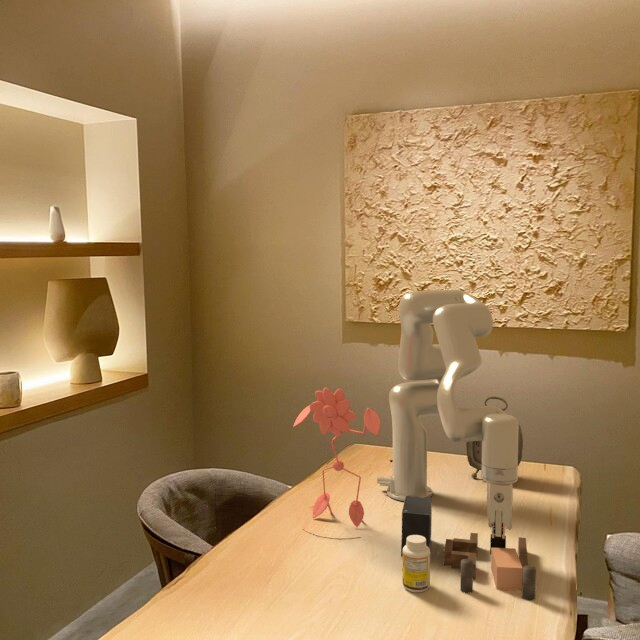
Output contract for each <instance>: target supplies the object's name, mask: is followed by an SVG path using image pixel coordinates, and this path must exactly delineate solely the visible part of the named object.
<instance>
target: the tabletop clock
mask: <svg viewBox="0 0 640 640" xmlns="http://www.w3.org/2000/svg"><path fill="white" fill-rule="evenodd" d="M490 400H499V401H502V402H503V403H504V404H505V407H504V408H500V409H501V410H502V411H503V412H505V410H507V409H508V407H509V405H508V402H507V401H506V400H505V399H504V398H502V397H500V396H490V397H487V398H485V399H484V406H488V404H487V402H488V401H490ZM495 406H496V407H498V406H497V405H495ZM523 442H524V439H523V432H522V428H521V425H520V424H519V430H518V467H519V466H520V464H521V461H522V458H523V450H524V449H523V447H524V443H523ZM465 443H466V444H465V445H466V457H467V462H468V464H469V466H471V467H472V468H473V469H476V470H475V472H473V473H472V474H471V478H472V479H477V478H478V473H479V472H480V471H481V468H482V440H480V441H471V442H465Z"/></svg>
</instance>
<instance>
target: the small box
mask: <svg viewBox="0 0 640 640" xmlns="http://www.w3.org/2000/svg"><path fill="white" fill-rule="evenodd" d="M403 502H404V503H403V507H402V511H401V544H400V545H401V548H400V549H401V552H400V556H401V557H403V547H404V546H405V545H406V540H407V537H408V536H410V535H420V536H423V537H425V538H426V546H427V547H428V548H429V549H430V548H431V541H432V516H433V514H432V512H433V511H432V507H433V506H432V497H430V498H421V497H411V496H406V497H405V501H403ZM430 550H431V549H430Z"/></svg>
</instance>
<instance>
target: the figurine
mask: <svg viewBox="0 0 640 640" xmlns="http://www.w3.org/2000/svg"><path fill="white" fill-rule="evenodd" d="M314 396H315V399H316V401H313V402H311V404H310V405H307V406H306V407H305V408H303V410H302V411H301V412H300V413H299V414H298V416H297V417H296V419H295V421H294V423H293V427H292V428H295V427H297V426H299V425H300V424H301V423H303V422H304V421H305V420H306V419H307V418H308V416H309V415H310V413H311V412H313V415H312V421H313V422H314V423H316V424H319V429H320V432H321V434H322V435H328V434H329V432H331V433H332V434H333V435H334V437H333V438H332V439H331V442H330V444H331V446H332V451H333V454H334V456H335V459H336V460H335V461H334V462H333V464H332V466H329V467H326V468H323V469H322V484H323V485H322V486H323V493H322V494H321V495H320V496H319V497H318V498H317V499H316V500H315V502H314V504H313V505H312V506H309V508H312V509H313V510H312V518H313V519H314V518H317V517H318V516H320V515H321V514H323V513H324V512H325V511H326V509H327V508H328V511H329V514H333V511H332V508H331V506H330V499H331V498H330V494H329V493H328V492H326V487H325V485H326V484H325V471H328V470H329V469H333V470H335V471H337V472H340V471H343V470H344V471H345V472H347V473H349V474H352V475H354V476H356V477H358V485H357V491H356V492H357V493H356V499H354V500H352V501H351V502H350V505H349V508H348V515H349V518H350V520H351V522H352V523H353V525H354V526H355V527H356V528H358V527H360V525H361V523H362V521H363V519H364V517H365V515H364V514H365V510H364V507H363V504H362V503H361V501H359V492H360V488H361V486H360V485H361V478H362V477H361V476H360V475H358V474H356V473H354V472H352V471H350V470H348V469H346V468H344V467H345V464H344V462H343V461H342V460H341V459H338V455H337V450H336V447H335V443H334V441H336V440H337V438H340V437H341V436H342V434H343V433H348V432H351V433H353V434H354V433H355V434H358V435H365V434H366V431H367V430H368V431H369V432H370V433H371V434H372V435H375V436H376V437H378V436H379V433H380V429H381V427H382V425H381V419H380V417H379V414H377V412H376V411H375V410H373V409H371V408H370V407H367V408H366V410H365V412H364V413H363V423H364V425H363V430H362V431H359V430H354V429H351V427H350V424H349V423H350V422H353V421H354V420H355V419H356V417H357V415H356V413H355V412H354V411H353V410H350V407H351V402H350V401H351V400H349V399H346V398H345V397H346V395H345V393H344V391H343V389H342V388H337V389H336V391H335V392H333V391H332V390H331V389H329V388H328V387H324V388H323V390H316V391H315V392H314ZM302 530H304V531H305V532H306V533H309V534H310V535H313V536H315V537H318V538H323V539H324V538H325V539H328V537H326V536H322V535H321V536H320V535H317V534H314V533H311V532H309V531H307V530H305V528H304V529H302ZM360 538H361V536H358V537H356V539H360ZM330 539H331V540H332V539H333V540H338V541H345V540H352V539H355V537H349V538H336V537H334V538H332V537H329V540H330Z"/></svg>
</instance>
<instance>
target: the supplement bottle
mask: <svg viewBox="0 0 640 640" xmlns="http://www.w3.org/2000/svg"><path fill="white" fill-rule="evenodd" d="M402 586H403V587H404V589H405V590H406V591H409V592H412V593H423V592H425V591H427V590H429V589H430V586H431V549H429V548H428V547H427V546H426V538H425V537H423V536H420V535H410V536H408V537H407V540H406V545H405V546H404V547H403V556H402Z"/></svg>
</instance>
